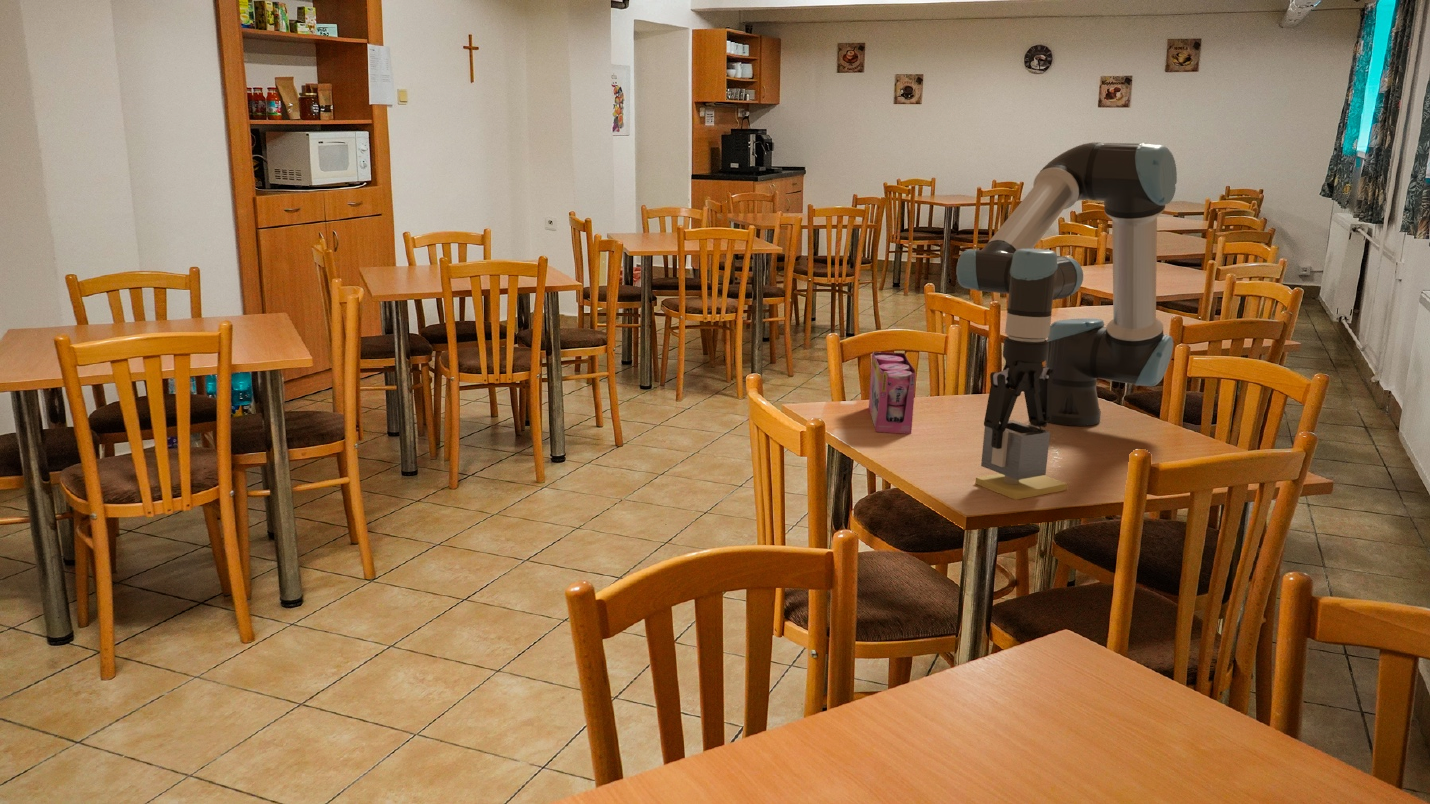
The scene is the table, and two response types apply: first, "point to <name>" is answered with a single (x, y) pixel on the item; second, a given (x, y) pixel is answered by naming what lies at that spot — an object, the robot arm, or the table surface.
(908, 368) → the gum box
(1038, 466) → the grey open box
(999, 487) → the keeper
